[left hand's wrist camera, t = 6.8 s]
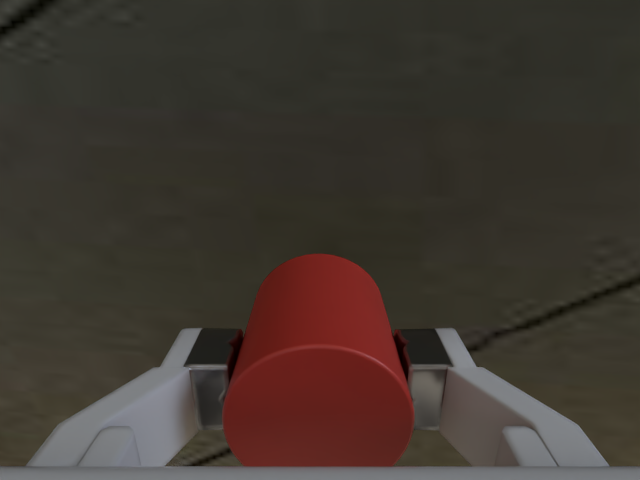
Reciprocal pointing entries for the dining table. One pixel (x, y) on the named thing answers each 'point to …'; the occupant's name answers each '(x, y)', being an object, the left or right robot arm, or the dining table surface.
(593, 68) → the dining table surface
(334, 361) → the can
